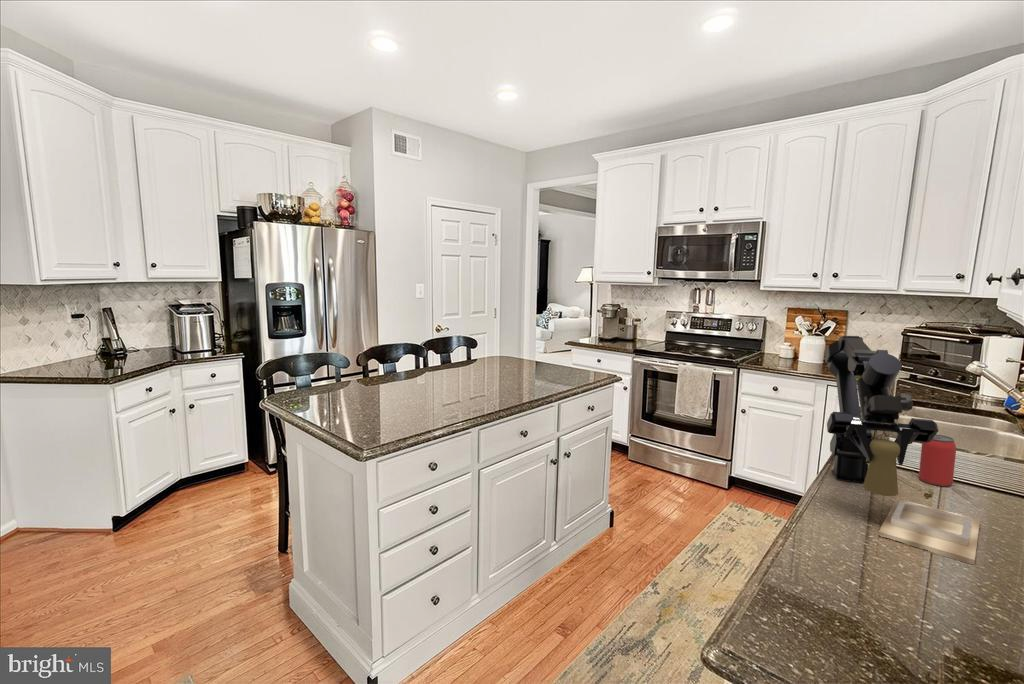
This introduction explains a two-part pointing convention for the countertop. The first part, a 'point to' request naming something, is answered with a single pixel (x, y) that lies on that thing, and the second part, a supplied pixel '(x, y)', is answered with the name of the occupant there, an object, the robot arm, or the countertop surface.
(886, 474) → the cork
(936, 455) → the beer can
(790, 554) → the countertop surface
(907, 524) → the clear rectangular frame
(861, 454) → the robot arm
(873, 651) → the countertop surface
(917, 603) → the countertop surface
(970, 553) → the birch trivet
